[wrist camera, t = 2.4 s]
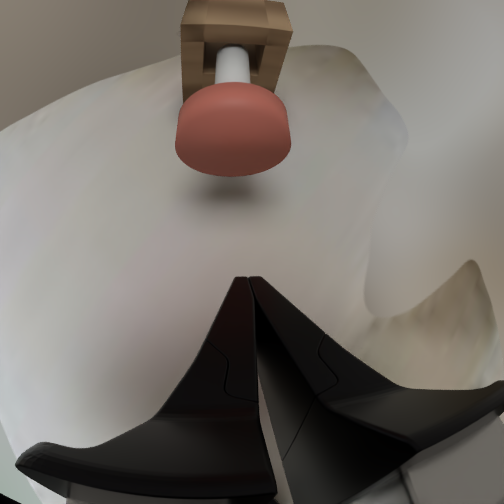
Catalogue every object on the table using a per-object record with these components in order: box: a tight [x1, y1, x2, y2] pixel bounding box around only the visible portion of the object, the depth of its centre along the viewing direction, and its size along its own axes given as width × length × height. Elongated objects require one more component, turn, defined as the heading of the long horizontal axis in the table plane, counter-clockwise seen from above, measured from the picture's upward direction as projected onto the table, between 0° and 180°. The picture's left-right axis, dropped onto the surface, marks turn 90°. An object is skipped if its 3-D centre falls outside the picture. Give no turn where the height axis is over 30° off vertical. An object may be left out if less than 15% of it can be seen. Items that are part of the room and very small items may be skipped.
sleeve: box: [181, 0, 293, 104], centre depth 19 cm, size 5×7×11 cm
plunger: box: [175, 44, 291, 177], centre depth 15 cm, size 8×6×6 cm
